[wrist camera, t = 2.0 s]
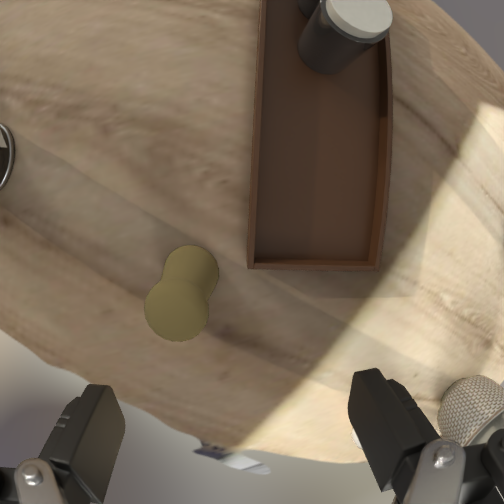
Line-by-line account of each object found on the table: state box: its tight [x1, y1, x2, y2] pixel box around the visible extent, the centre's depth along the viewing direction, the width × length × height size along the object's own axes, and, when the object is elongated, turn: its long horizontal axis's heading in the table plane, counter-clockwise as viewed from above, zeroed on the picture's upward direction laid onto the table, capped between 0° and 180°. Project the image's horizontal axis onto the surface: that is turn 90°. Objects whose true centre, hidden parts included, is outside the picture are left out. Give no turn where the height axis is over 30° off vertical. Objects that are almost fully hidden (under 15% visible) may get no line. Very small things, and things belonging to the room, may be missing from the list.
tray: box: [247, 0, 393, 271], centre depth 27 cm, size 14×34×2 cm, turn 177°
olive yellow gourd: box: [144, 245, 219, 342], centre depth 27 cm, size 6×6×11 cm
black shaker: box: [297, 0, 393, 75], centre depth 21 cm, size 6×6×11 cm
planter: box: [437, 375, 504, 447], centre depth 35 cm, size 14×14×13 cm
